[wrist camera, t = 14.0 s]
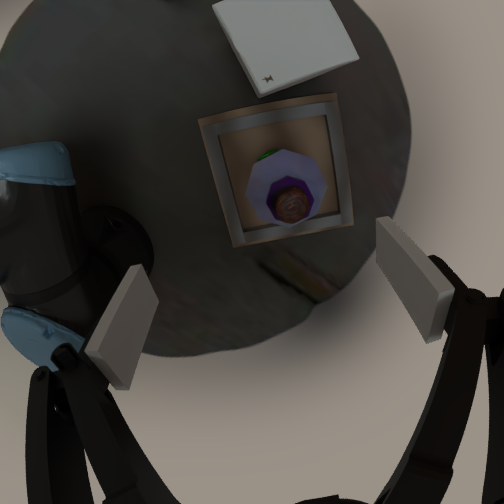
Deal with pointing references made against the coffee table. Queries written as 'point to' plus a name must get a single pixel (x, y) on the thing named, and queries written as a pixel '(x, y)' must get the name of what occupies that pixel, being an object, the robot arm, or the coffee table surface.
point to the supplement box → (284, 40)
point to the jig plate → (277, 137)
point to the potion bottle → (285, 187)
